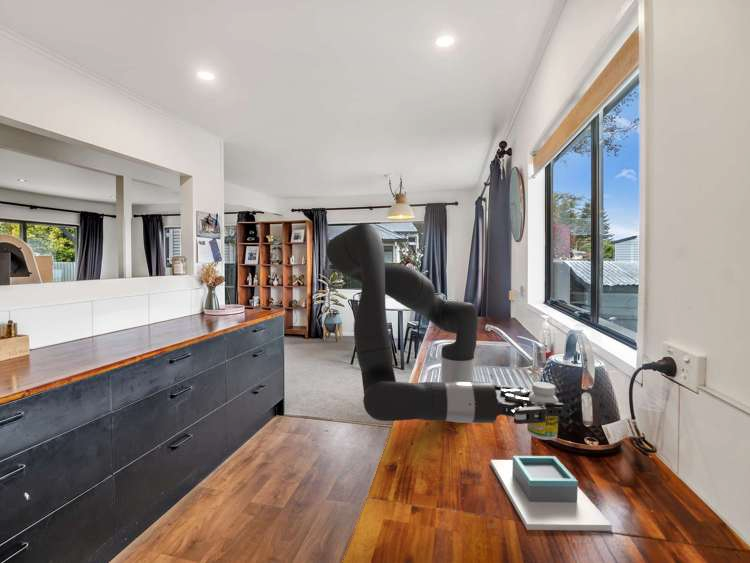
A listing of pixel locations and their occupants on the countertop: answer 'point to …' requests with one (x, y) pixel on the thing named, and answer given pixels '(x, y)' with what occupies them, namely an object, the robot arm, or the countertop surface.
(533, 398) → the supplement bottle
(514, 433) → the countertop surface
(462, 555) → the countertop surface
